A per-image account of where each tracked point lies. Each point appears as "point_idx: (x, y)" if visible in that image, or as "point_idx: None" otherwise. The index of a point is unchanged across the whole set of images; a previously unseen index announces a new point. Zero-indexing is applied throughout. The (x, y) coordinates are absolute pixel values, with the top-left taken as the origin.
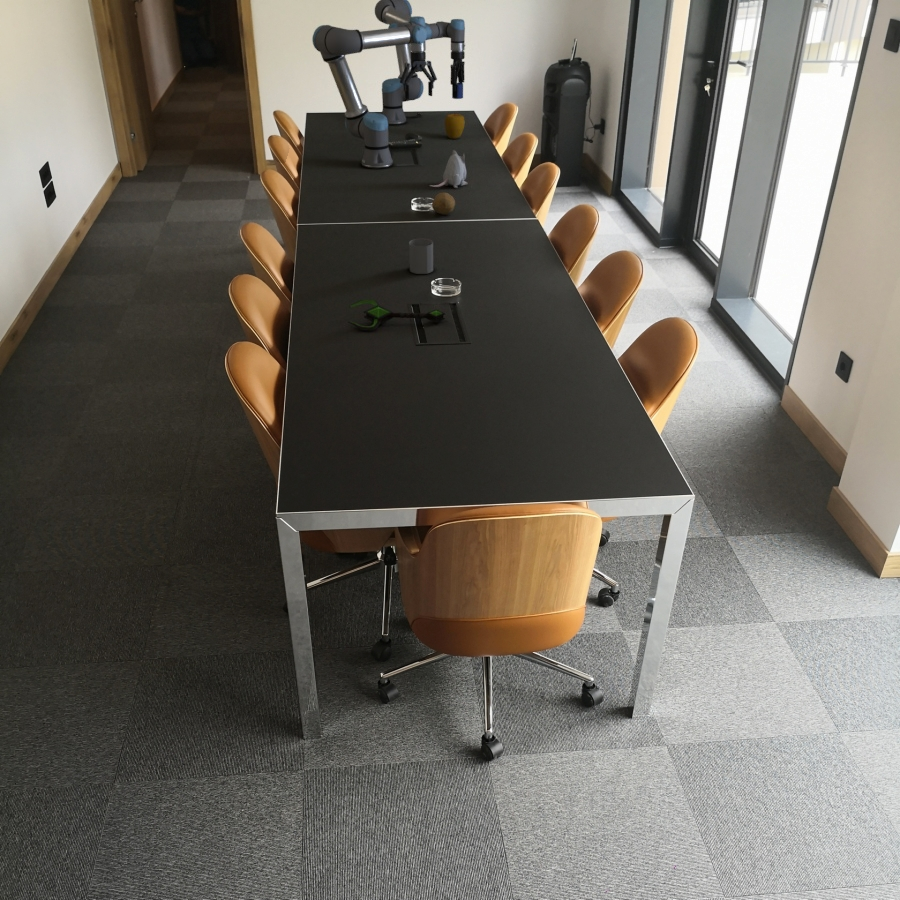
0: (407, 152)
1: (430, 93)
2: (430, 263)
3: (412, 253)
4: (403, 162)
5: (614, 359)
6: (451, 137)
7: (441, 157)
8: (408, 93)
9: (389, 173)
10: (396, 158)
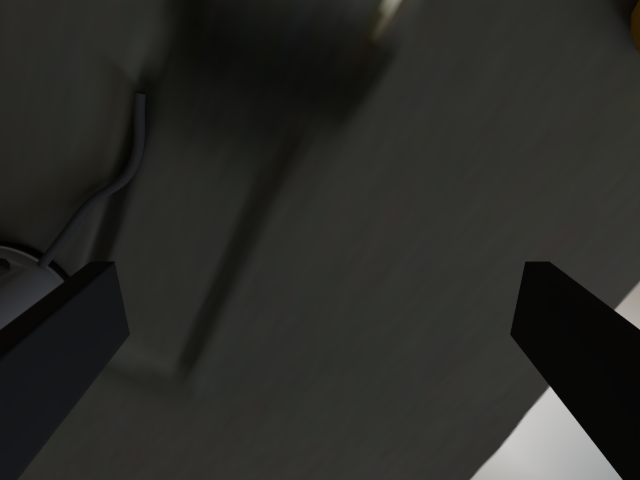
0: (235, 176)
1: (531, 341)
2: None
3: None
4: (143, 321)
5: None
6: (633, 40)
7: (334, 333)
8: (79, 386)
9: None
10: (137, 250)
